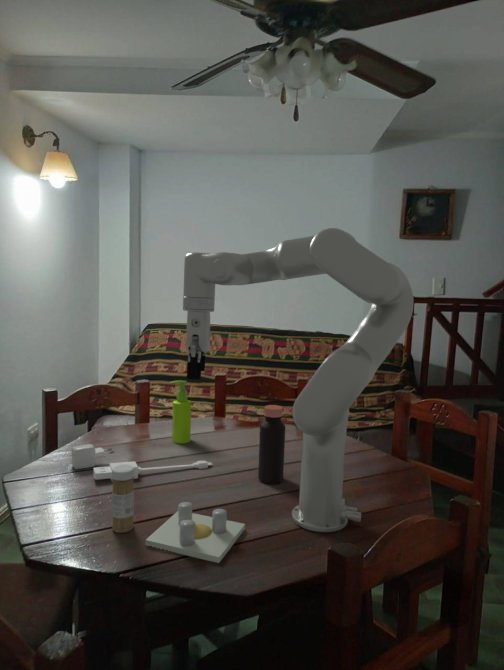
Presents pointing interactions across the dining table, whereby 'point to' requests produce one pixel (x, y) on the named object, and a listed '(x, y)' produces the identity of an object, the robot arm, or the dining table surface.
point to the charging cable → (107, 471)
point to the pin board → (197, 534)
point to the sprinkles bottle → (122, 498)
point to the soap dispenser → (181, 415)
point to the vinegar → (271, 446)
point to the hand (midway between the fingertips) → (196, 374)
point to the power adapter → (87, 455)
